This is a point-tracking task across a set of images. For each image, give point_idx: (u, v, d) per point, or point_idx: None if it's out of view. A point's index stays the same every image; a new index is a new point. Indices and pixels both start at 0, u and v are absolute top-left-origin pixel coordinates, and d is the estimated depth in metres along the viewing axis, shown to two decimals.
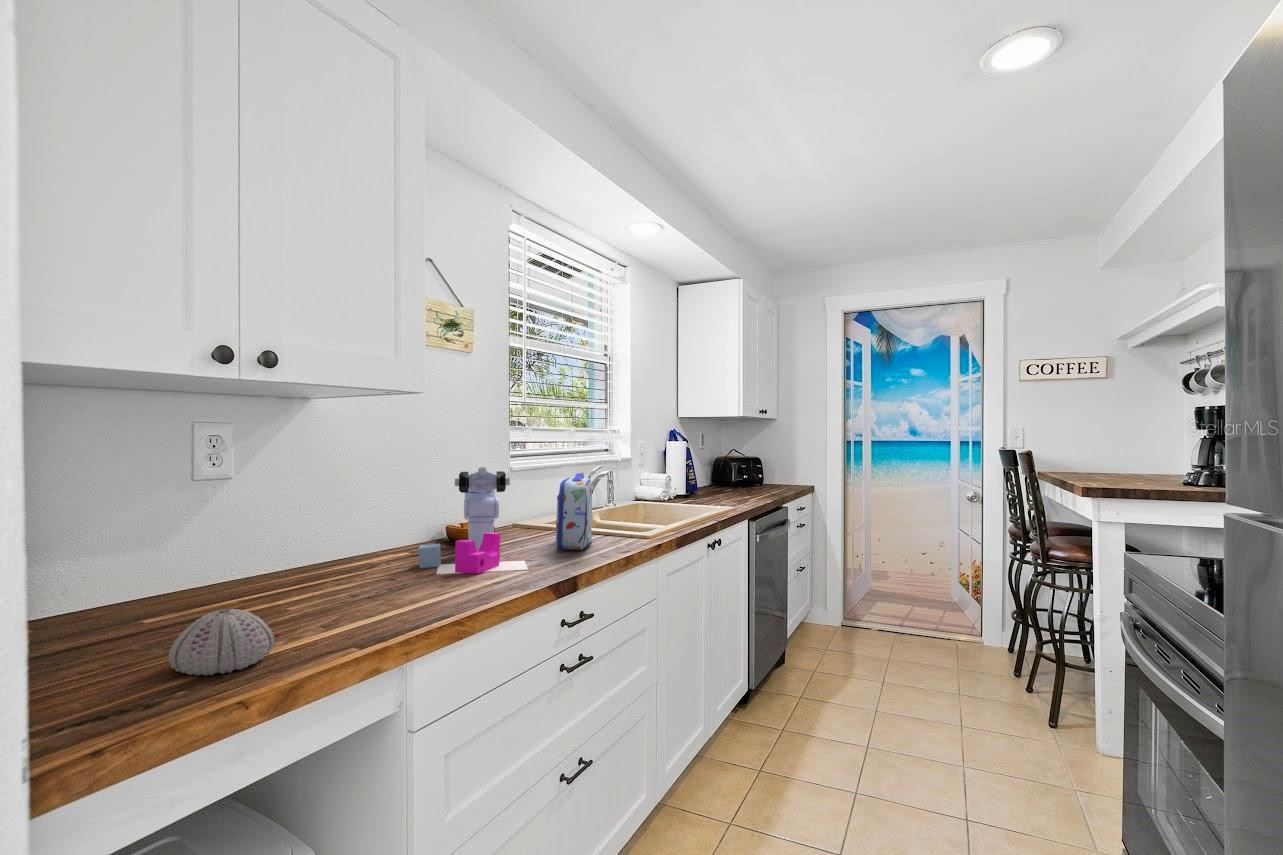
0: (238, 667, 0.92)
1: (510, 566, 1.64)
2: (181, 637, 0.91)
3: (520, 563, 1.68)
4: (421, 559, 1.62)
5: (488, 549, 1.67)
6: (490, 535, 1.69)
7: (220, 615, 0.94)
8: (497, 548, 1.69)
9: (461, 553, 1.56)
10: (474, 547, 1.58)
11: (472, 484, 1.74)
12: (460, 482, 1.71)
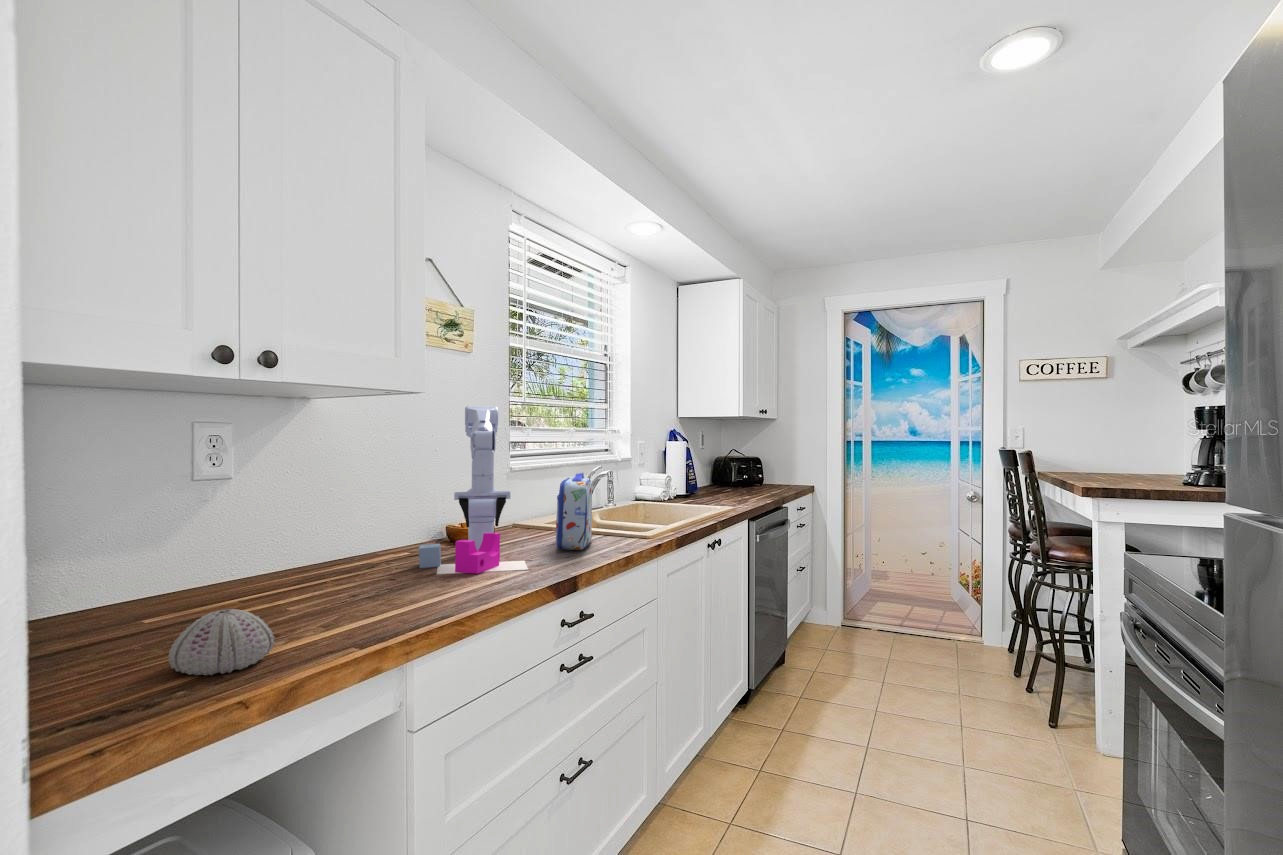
0: (238, 667, 0.92)
1: (510, 566, 1.64)
2: (181, 637, 0.91)
3: (520, 563, 1.68)
4: (421, 559, 1.62)
5: (488, 549, 1.67)
6: (490, 535, 1.69)
7: (220, 615, 0.94)
8: (497, 548, 1.69)
9: (461, 553, 1.56)
10: (474, 547, 1.58)
11: None
12: None
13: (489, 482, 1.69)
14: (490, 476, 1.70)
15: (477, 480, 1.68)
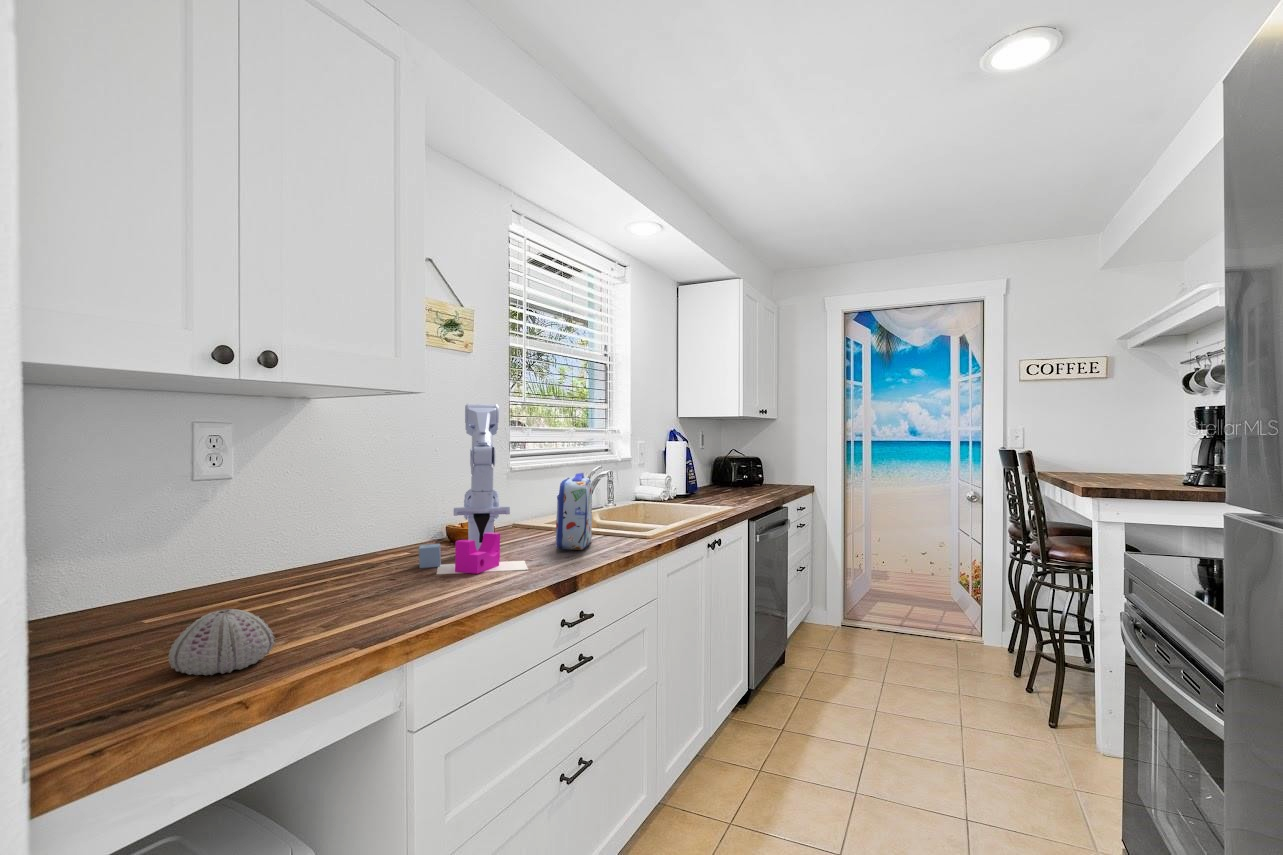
0: (238, 667, 0.92)
1: (510, 566, 1.64)
2: (181, 637, 0.91)
3: (520, 563, 1.68)
4: (421, 559, 1.62)
5: (488, 549, 1.67)
6: (490, 535, 1.69)
7: (220, 615, 0.94)
8: (497, 548, 1.69)
9: (462, 553, 1.56)
10: (474, 547, 1.58)
11: None
12: None
13: (488, 498, 1.69)
14: (489, 492, 1.69)
15: (476, 495, 1.68)
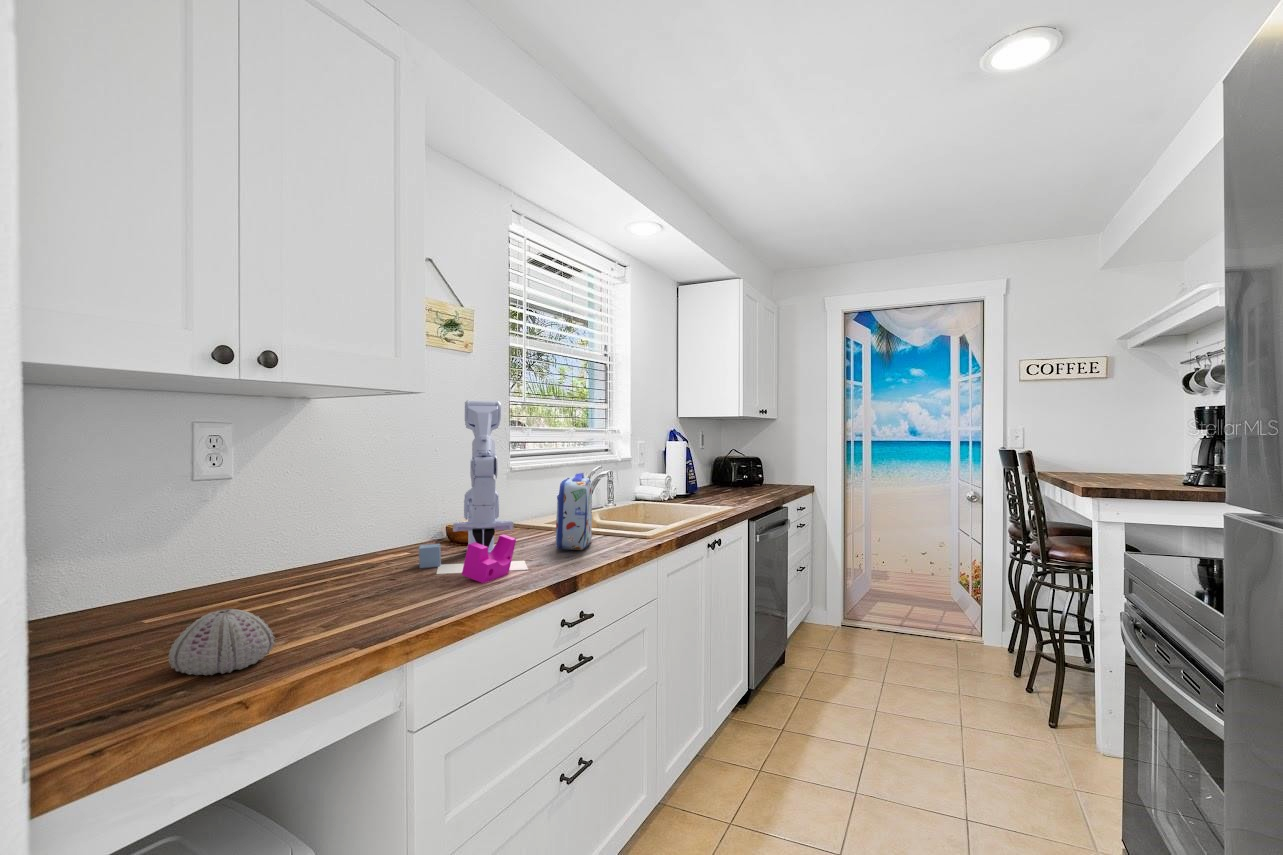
0: (238, 667, 0.92)
1: (510, 566, 1.64)
2: (181, 637, 0.91)
3: (520, 563, 1.68)
4: (421, 559, 1.62)
5: (500, 554, 1.58)
6: (506, 539, 1.60)
7: (220, 615, 0.94)
8: (510, 554, 1.60)
9: (472, 558, 1.48)
10: (486, 554, 1.49)
11: None
12: None
13: (490, 512, 1.57)
14: (491, 506, 1.58)
15: (477, 510, 1.56)
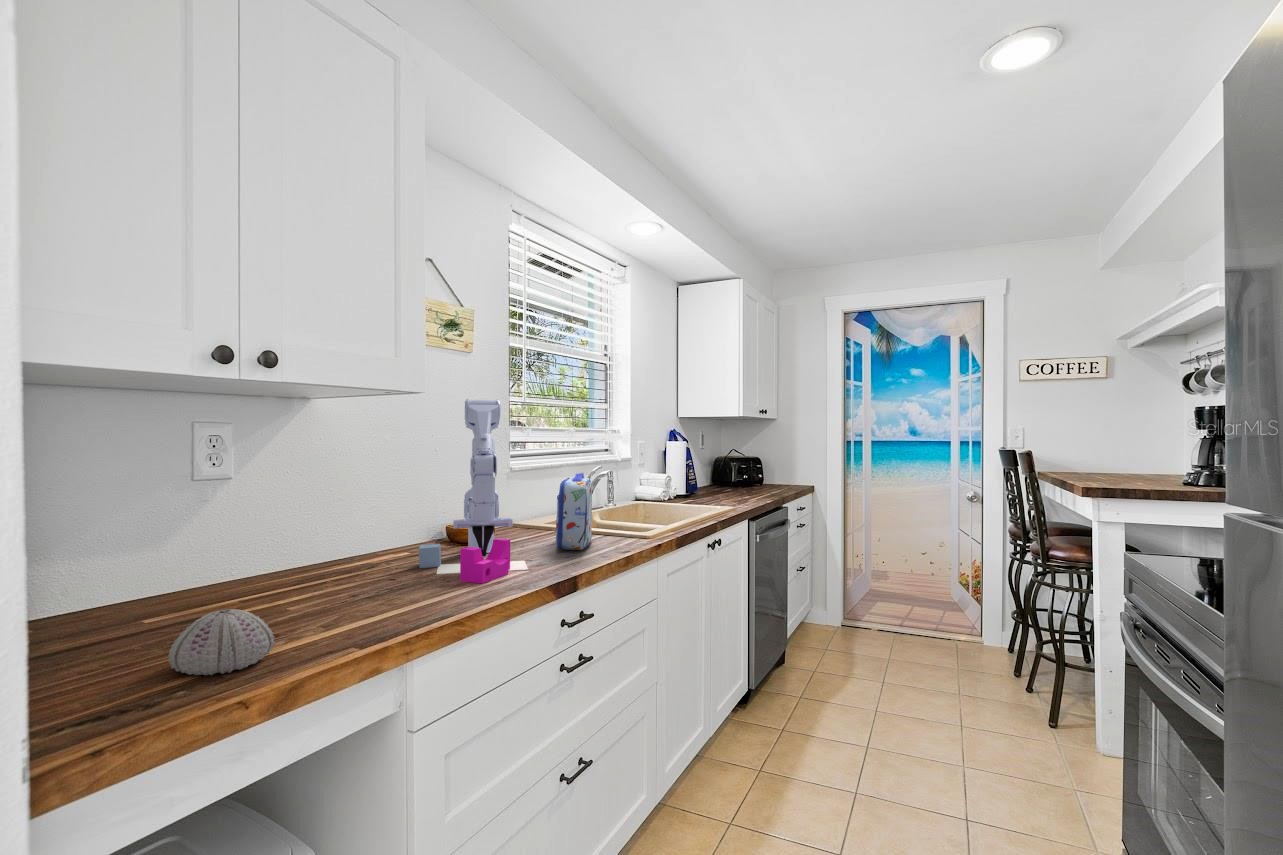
0: (238, 667, 0.92)
1: (510, 566, 1.64)
2: (181, 637, 0.91)
3: (520, 563, 1.68)
4: (421, 559, 1.62)
5: (497, 556, 1.58)
6: (500, 541, 1.60)
7: (220, 615, 0.94)
8: (507, 555, 1.60)
9: (467, 562, 1.48)
10: (480, 555, 1.49)
11: None
12: None
13: (490, 509, 1.60)
14: (491, 503, 1.60)
15: (477, 507, 1.59)
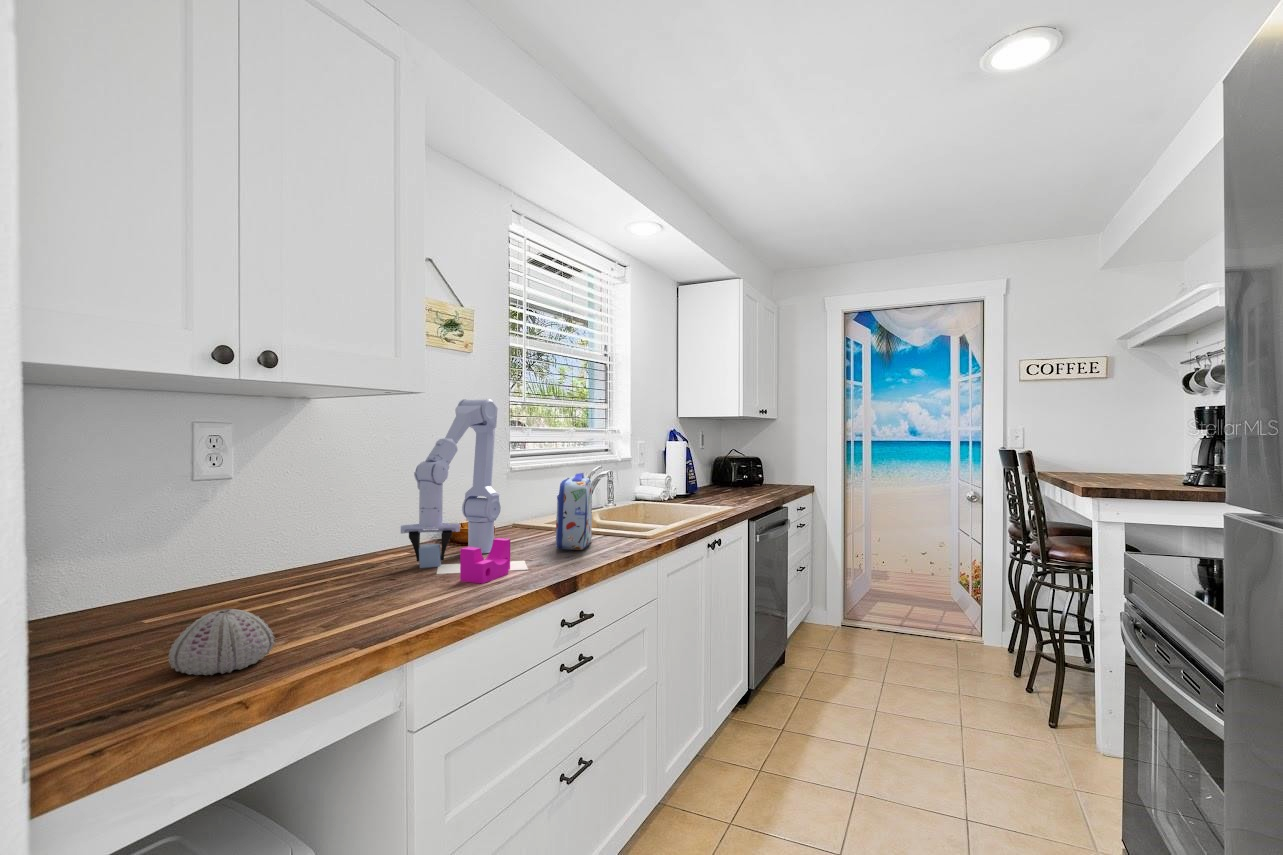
0: (238, 667, 0.92)
1: (510, 566, 1.64)
2: (181, 637, 0.91)
3: (520, 563, 1.68)
4: (421, 559, 1.62)
5: (497, 556, 1.58)
6: (500, 541, 1.60)
7: (220, 615, 0.94)
8: (507, 555, 1.60)
9: (467, 562, 1.48)
10: (480, 555, 1.49)
11: None
12: None
13: (437, 515, 1.63)
14: (438, 508, 1.64)
15: (424, 513, 1.62)
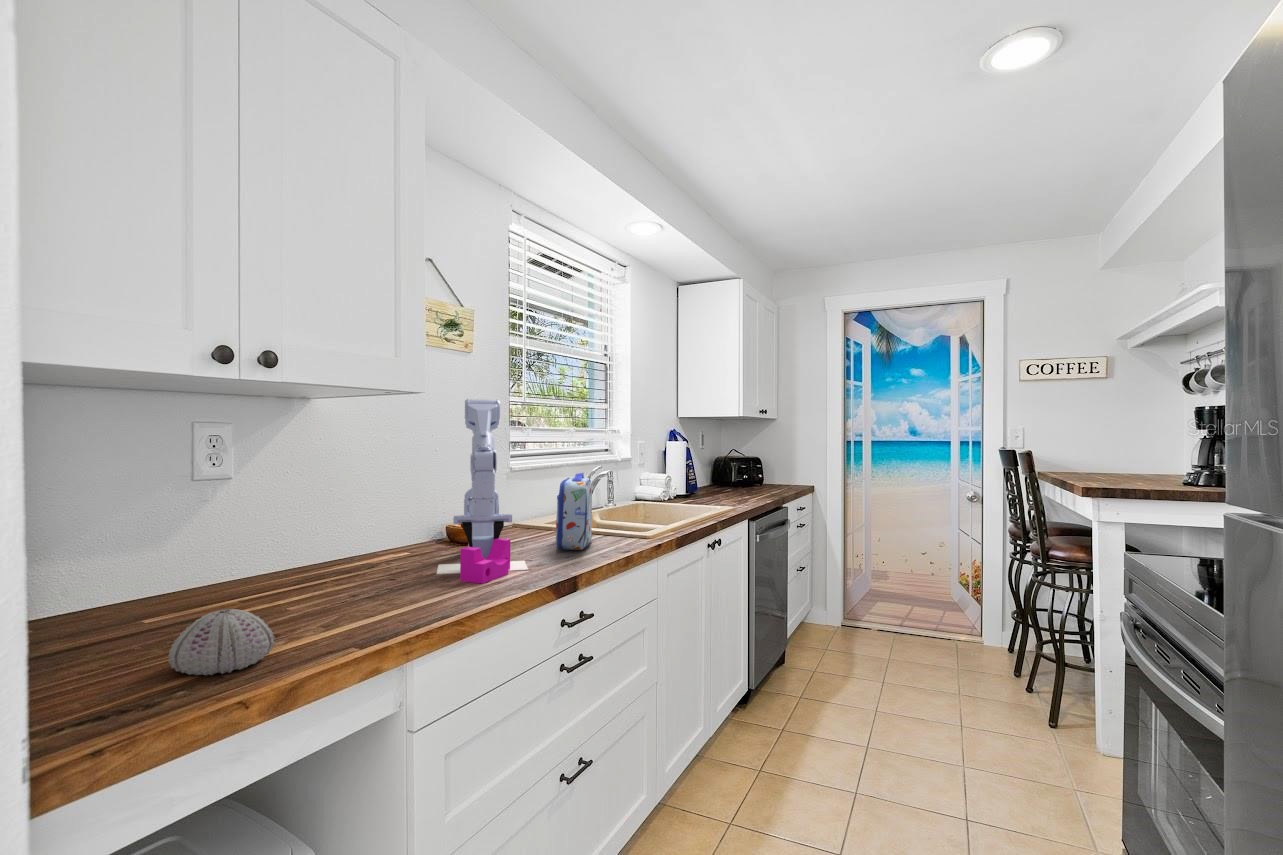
0: (238, 667, 0.92)
1: (510, 566, 1.64)
2: (181, 637, 0.91)
3: (520, 563, 1.68)
4: None
5: (497, 556, 1.58)
6: (500, 541, 1.60)
7: (220, 615, 0.94)
8: (507, 555, 1.60)
9: (467, 562, 1.48)
10: (480, 555, 1.49)
11: None
12: None
13: (490, 505, 1.61)
14: (491, 499, 1.62)
15: (477, 503, 1.60)
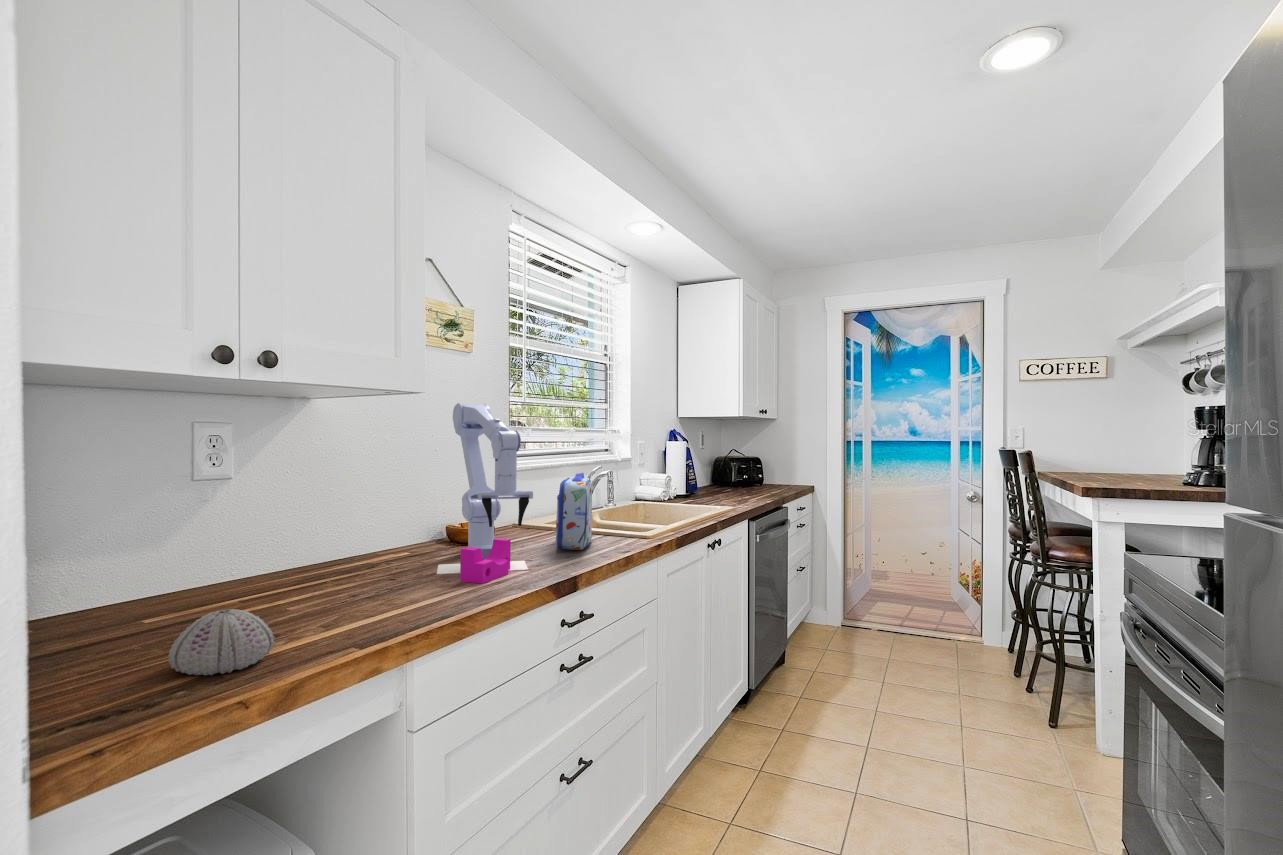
0: (238, 667, 0.92)
1: (510, 566, 1.64)
2: (181, 637, 0.91)
3: (520, 563, 1.68)
4: None
5: (497, 556, 1.57)
6: (500, 541, 1.60)
7: (220, 615, 0.94)
8: (507, 555, 1.60)
9: (467, 562, 1.48)
10: (480, 555, 1.49)
11: None
12: None
13: (512, 482, 1.70)
14: (513, 476, 1.71)
15: (500, 480, 1.69)
